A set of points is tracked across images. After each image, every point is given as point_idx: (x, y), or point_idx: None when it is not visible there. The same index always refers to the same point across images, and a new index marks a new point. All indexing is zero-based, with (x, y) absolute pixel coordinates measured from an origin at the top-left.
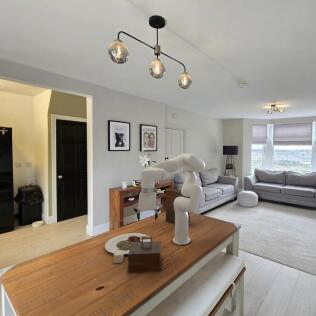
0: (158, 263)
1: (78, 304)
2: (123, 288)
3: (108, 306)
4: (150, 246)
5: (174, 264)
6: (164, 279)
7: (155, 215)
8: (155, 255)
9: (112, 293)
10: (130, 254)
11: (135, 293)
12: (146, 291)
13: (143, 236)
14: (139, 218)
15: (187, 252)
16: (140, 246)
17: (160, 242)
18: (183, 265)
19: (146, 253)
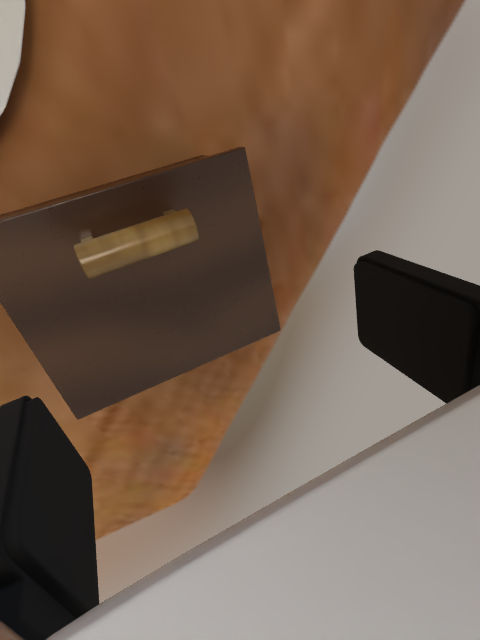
0: None
1: None
2: (129, 437)
3: (132, 506)
4: (188, 271)
5: (295, 217)
6: (271, 337)
7: (435, 388)
8: None
9: (103, 471)
10: (93, 411)
11: (190, 435)
12: (224, 413)
13: (108, 264)
14: (70, 463)
15: (359, 50)
16: (102, 295)
17: (247, 179)
18: (338, 215)
19: (200, 365)
